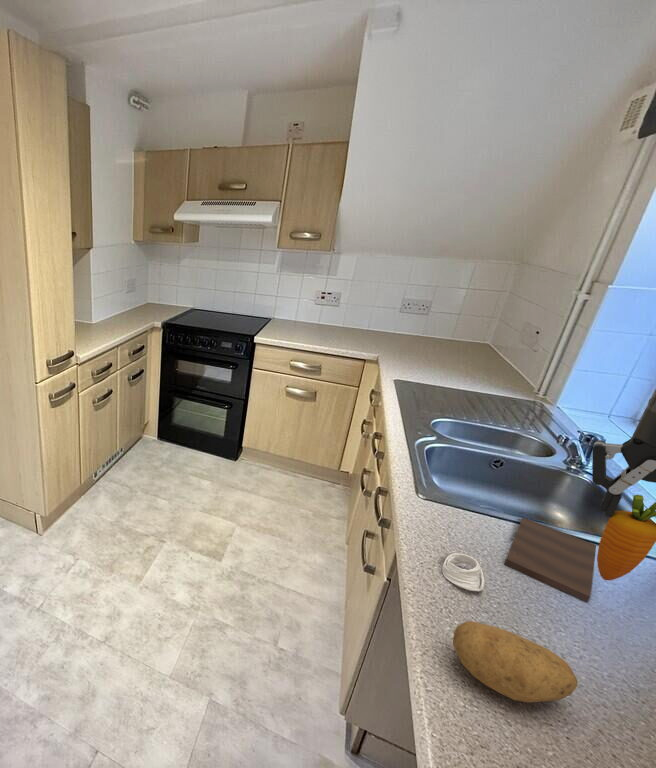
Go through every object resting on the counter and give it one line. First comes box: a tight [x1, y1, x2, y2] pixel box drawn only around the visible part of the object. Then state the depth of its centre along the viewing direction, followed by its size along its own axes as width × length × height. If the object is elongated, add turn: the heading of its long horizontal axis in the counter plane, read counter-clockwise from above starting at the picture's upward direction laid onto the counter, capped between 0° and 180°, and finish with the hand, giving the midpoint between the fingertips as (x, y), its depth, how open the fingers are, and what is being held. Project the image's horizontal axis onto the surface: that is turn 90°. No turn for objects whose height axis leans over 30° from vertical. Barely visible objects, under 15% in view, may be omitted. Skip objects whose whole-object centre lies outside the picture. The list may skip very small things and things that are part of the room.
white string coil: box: [441, 552, 485, 592], centre depth 79 cm, size 8×7×5 cm
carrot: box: [596, 494, 656, 581], centre depth 59 cm, size 5×5×15 cm
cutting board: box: [503, 516, 597, 603], centre depth 85 cm, size 20×12×2 cm, turn 132°
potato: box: [452, 620, 579, 703], centre depth 60 cm, size 10×14×8 cm
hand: (634, 523), depth 58 cm, fingers closed on carrot, 4 cm apart
